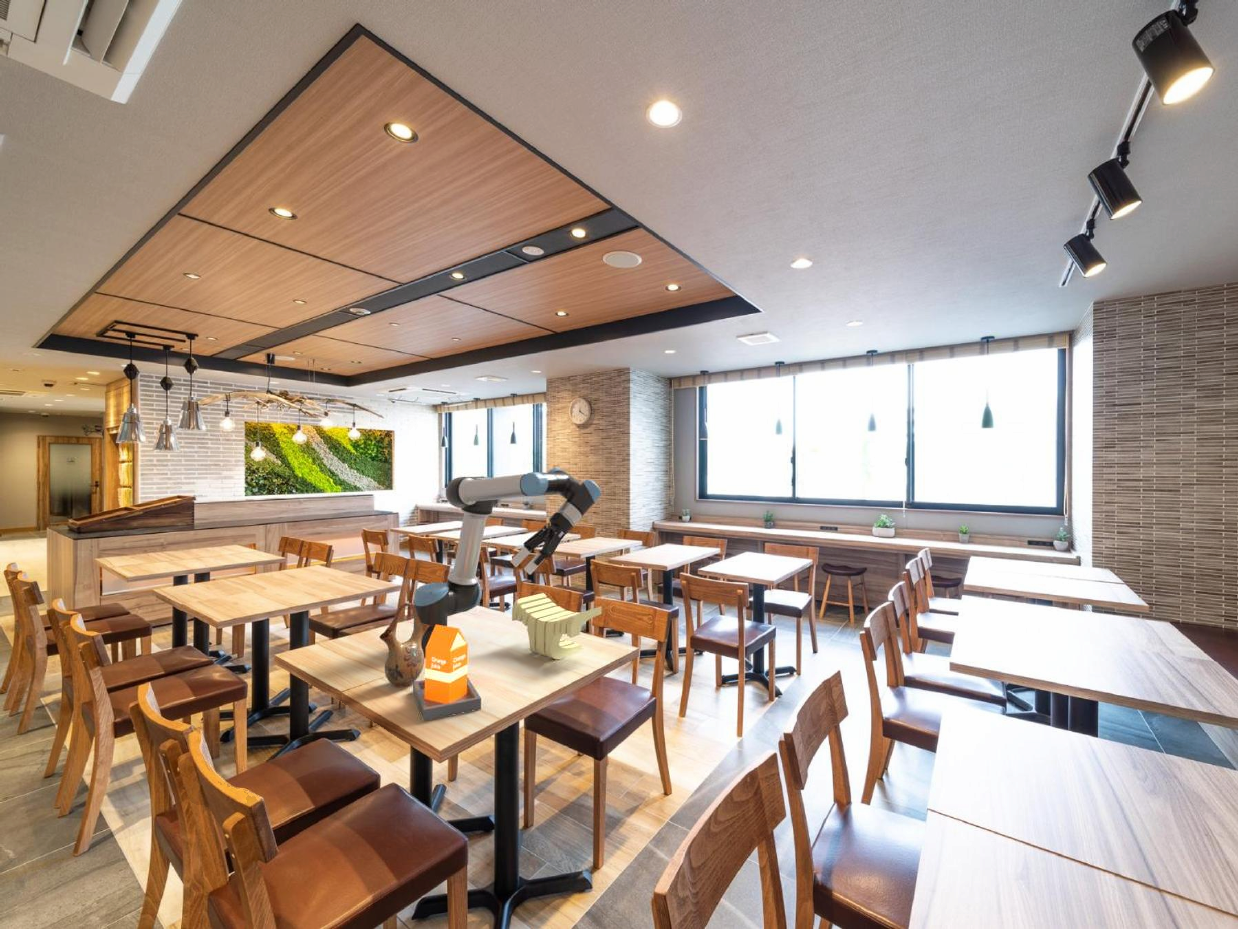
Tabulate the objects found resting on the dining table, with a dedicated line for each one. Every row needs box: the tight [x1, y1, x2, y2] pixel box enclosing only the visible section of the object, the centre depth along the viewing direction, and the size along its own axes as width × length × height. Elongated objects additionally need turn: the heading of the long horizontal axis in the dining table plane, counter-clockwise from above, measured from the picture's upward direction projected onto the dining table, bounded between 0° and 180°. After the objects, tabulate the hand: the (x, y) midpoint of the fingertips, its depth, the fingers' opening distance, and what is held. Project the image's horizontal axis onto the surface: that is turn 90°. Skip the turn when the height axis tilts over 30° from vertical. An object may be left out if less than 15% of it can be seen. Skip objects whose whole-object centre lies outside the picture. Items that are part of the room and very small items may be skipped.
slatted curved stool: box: [511, 592, 603, 660], centre depth 186 cm, size 30×16×18 cm, turn 53°
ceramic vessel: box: [379, 602, 430, 688], centre depth 156 cm, size 16×9×25 cm, turn 146°
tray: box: [412, 676, 482, 722], centre depth 145 cm, size 20×15×3 cm
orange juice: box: [424, 625, 469, 704], centre depth 146 cm, size 8×9×20 cm
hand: (519, 568), depth 160 cm, fingers open, 13 cm apart
